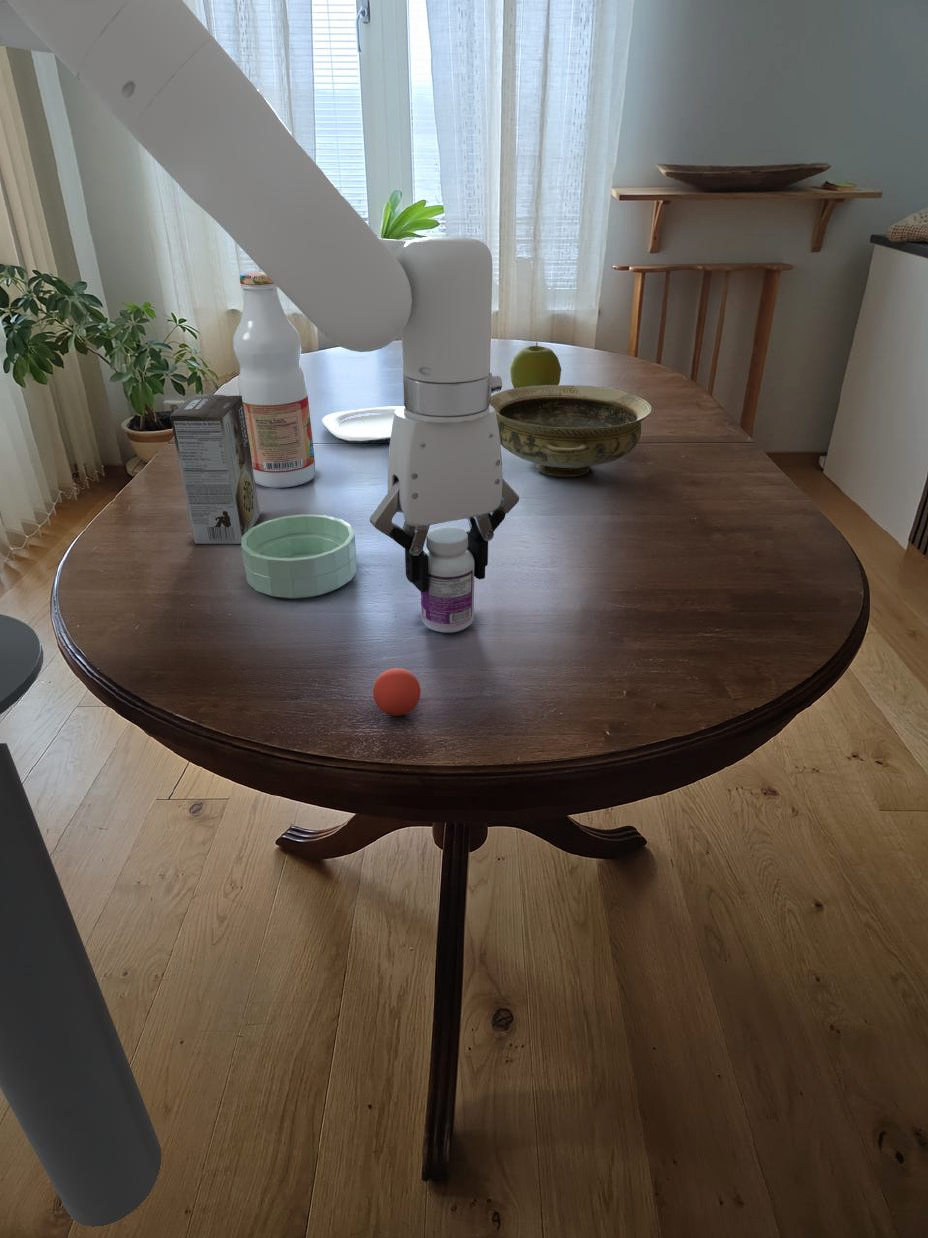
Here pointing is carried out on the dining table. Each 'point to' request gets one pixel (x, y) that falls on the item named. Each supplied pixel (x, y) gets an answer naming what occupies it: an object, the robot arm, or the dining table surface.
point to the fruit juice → (273, 388)
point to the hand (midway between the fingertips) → (447, 578)
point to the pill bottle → (448, 581)
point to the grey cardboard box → (216, 467)
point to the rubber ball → (396, 691)
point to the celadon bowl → (299, 555)
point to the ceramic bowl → (568, 425)
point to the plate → (362, 425)
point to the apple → (535, 367)
